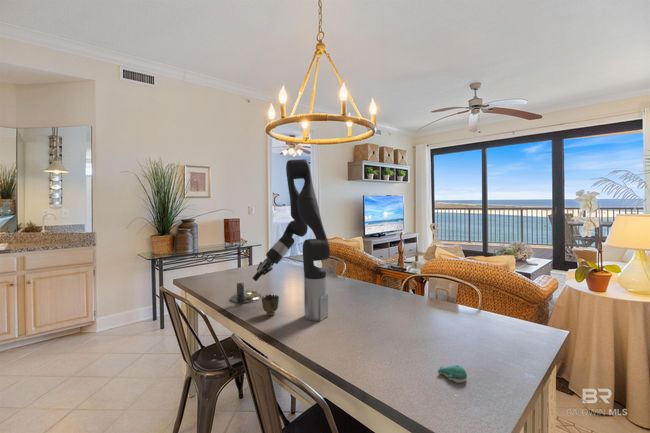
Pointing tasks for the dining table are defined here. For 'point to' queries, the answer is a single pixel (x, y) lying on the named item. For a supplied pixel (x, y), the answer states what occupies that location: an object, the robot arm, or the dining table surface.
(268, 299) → the cup
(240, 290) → the golden ring with handle
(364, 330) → the dining table surface
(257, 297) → the steel flange
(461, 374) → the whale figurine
